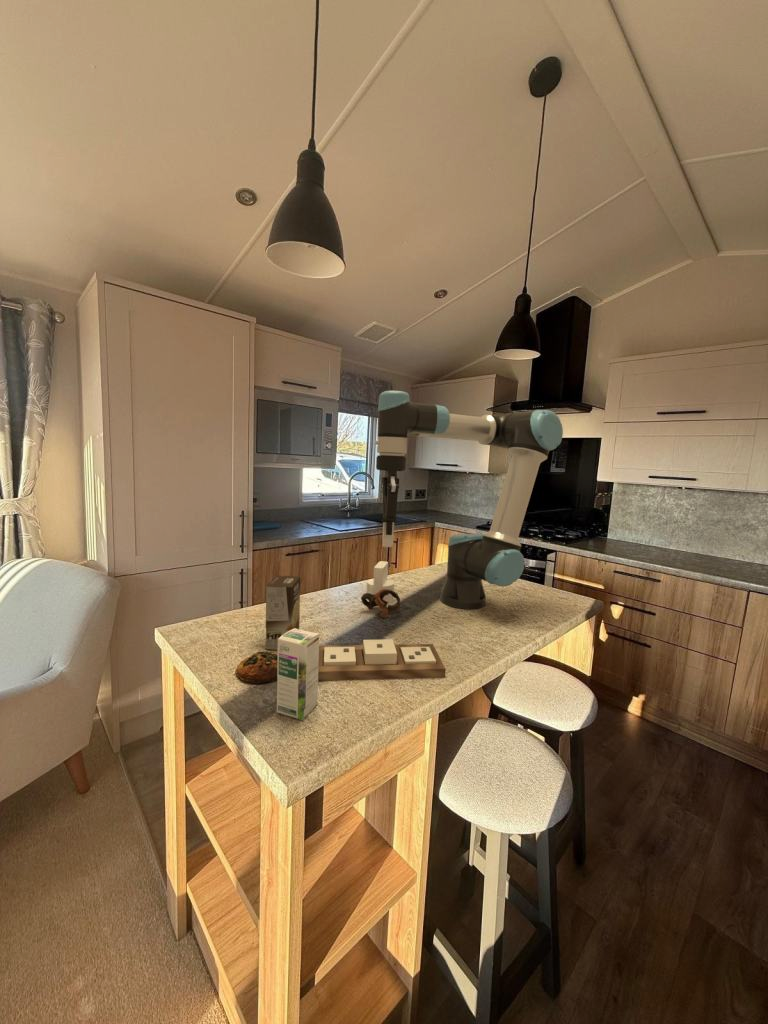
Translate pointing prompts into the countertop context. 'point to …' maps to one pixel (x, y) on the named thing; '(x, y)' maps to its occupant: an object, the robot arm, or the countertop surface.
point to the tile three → (417, 655)
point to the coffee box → (281, 608)
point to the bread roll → (258, 667)
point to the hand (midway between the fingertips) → (387, 546)
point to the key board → (380, 667)
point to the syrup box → (297, 673)
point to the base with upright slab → (380, 581)
